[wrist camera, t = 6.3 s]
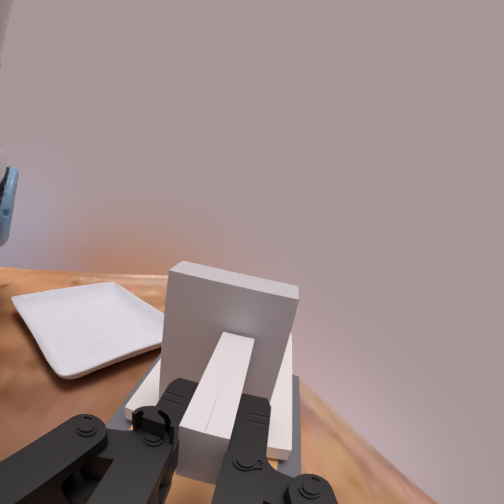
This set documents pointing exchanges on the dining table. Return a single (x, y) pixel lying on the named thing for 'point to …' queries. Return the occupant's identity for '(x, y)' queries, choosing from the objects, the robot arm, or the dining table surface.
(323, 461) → the dining table surface
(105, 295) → the salad plate
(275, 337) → the side cover
